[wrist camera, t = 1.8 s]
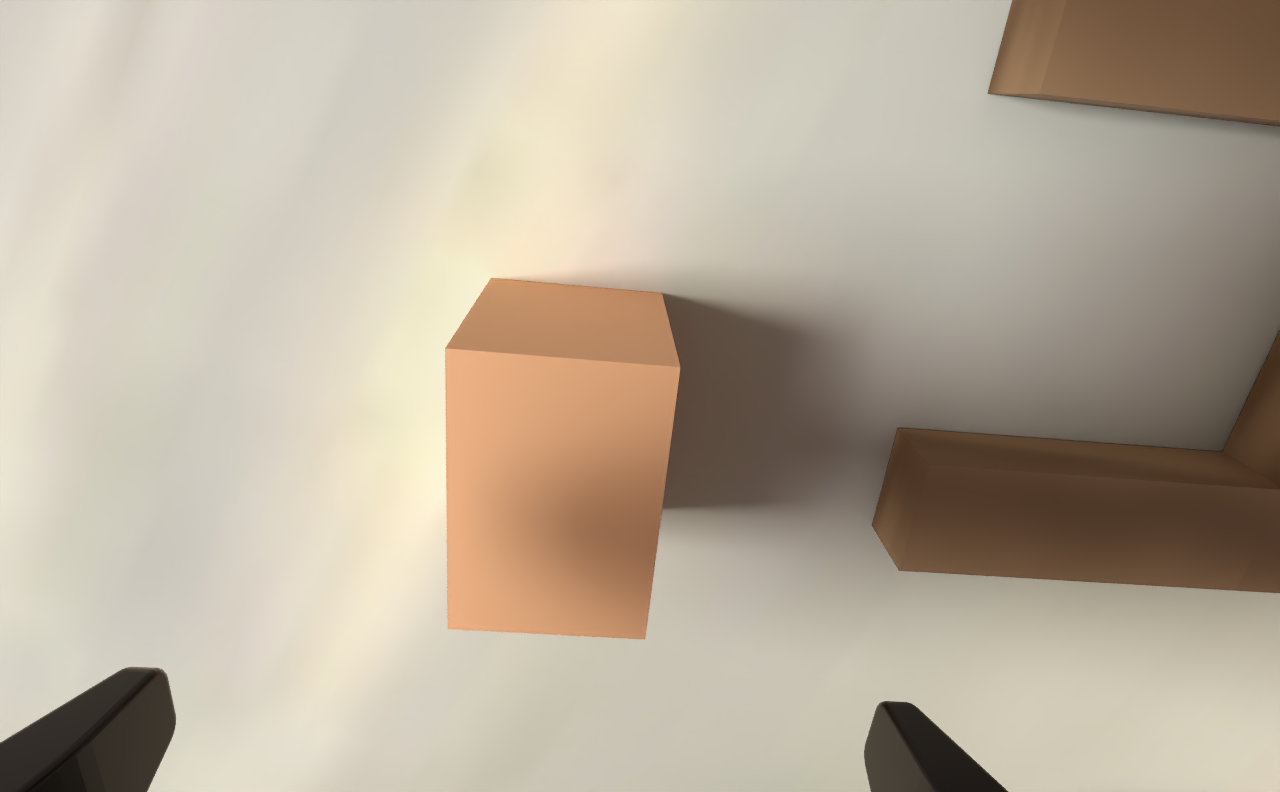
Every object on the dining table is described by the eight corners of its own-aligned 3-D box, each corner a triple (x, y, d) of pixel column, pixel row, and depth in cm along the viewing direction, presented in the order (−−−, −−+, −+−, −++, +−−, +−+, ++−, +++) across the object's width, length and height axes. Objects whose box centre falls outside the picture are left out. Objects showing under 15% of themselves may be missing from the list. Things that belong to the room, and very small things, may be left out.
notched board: (1307, 553, 20) (1376, 598, 19) (871, 525, 19) (899, 570, 18) (1615, 5, 15) (1756, -7, 13) (1031, -71, 14) (1095, -95, 12)
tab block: (637, 508, 19) (644, 639, 15) (487, 498, 19) (447, 629, 14) (661, 292, 17) (680, 367, 12) (491, 277, 16) (445, 348, 12)
